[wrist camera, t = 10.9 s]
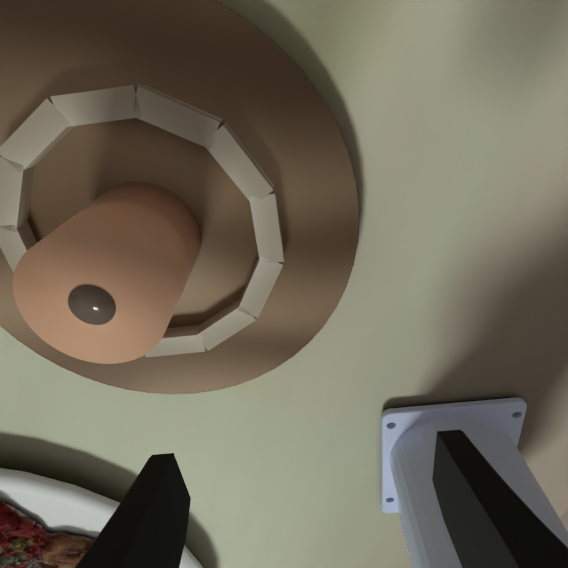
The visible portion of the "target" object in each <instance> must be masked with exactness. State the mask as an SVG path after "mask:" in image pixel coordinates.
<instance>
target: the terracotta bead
mask: <svg viewBox="0 0 568 568" xmlns="http://www.w3.org/2000/svg"><path fill="white" fill-rule="evenodd" d="M200 248H201V234H200V229H199V226H198V223H197V220H196V218H195V216H194V214H193V213H192V211H191V210H190V208H189V207H188V206H187V205H186V204H185V203H184V202H183V201H182V200H181V199H180V198H179V197H178V196H176V195H175V194H174V193H172V192H171V191H169V190H167V189H165V188H163V187H161V186H158V185H155V184H151V183H146V182H128V183H123V184H120V185H117V186H115V187H113V188H111V189H109V190H108V191H107V192H105V193H104V194H103V195H101V196H100V197H98V198H97V199H96V200H94V201H93V202H92V203H90V204H89V205H88V206H86V207H85V208H84V209H82V210H81V211H80V212H78V213H77V214H76V215H74V216H73V217H71V218H70V219H69V220H67V221H66V222H65V223H63V224H62V225H61V226H59V227H58V228H57V229H55V230H54V231H53V232H51V233H50V234H48V235H47V236H46V237H44V238H43V239H42V240H40V241H39V242H38V243H36V244H35V245H34V246H32V247H31V248H30V249H28V250H27V251H26V252H25V254H24V255H23V256H22V257H21V259H20V260H19V262H18V264H17V266H16V268H15V271H14V276H13V293H14V298H15V301H16V305H17V307H18V309H19V311H20V313H21V315H22V317H23V318H24V320H25V321H26V323H27V324H28V325H29V327H30V328H31V329H32V330H33V331H34V332H35V333H36V334H37V335H38V336H39V337H40V338H41V339H43V340H44V341H45V342H46V343H48V344H49V345H51V346H52V347H54V348H55V349H57V350H59V351H61V352H62V353H65V354H67V355H69V356H71V357H74V358H77V359H80V360H84V361H88V362H93V363H102V364H116V363H123V362H128V361H131V360H135V359H137V358H139V357H142V356H143V355H145V354H147V353H148V352H150V351H151V350H152V349H153V348H154V347H155V346H156V345H157V344H158V343H159V342H160V340H161V339H162V337H163V336H164V333H165V331H166V329H167V327H168V324H169V322H170V320H171V317H172V315H173V313H174V311H175V308H176V306H177V304H178V301H179V299H180V297H181V295H182V292H183V290H184V288H185V285H186V283H187V281H188V279H189V276H190V274H191V272H192V269H193V267H194V265H195V263H196V260H197V258H198V256H199V252H200Z"/></svg>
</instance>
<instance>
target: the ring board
mask: <svg viewBox="0 0 568 568" xmlns="http://www.w3.org/2000/svg"><path fill="white" fill-rule="evenodd" d="M128 182H146V183H151V184H155V185H158V186H161V187H163V188H165V189H167V190H169V191H171V192H172V193H174V194H175V195H176V196H178V197H179V198H180V199H181V200H182V201H183V202H184V203H185V204H186V205H187V206H188V207H189V208H190V210H191V211H192V213H193V214H194V216H195V218H196V220H197V223H198V226H199V229H200V234H201V248H200V252H199V256H198V258H197V260H196V263H195V265H194V267H193V269H192V272H191V274H190V276H189V279H188V281H187V283H186V285H185V288H184V290H183V292H182V295H181V297H180V299H179V301H178V304H177V306H176V308H175V311H174V313H173V315H172V317H171V320H170V322H169V324H168V327H167V329H166V331H165V333H164V336H163V337H162V339H161V340H160V342H159V343H158V344H157V345H156V346H155V347H154V348H153V349H152V350H151V351H150V352H148V353H147V354H145V355H143V356H142V357H139V358H137V359H135V360H131V361H128V362H123V363H116V364H102V363H93V362H88V361H84V360H80V359H77V358H74V357H71V356H69V355H67V354H65V353H62V352H61V351H59V350H57V349H55V348H54V347H52V346H51V345H49V344H48V343H46V342H45V341H44V340H43V339H41V338H40V337H39V336H38V335H37V334H36V333H35V332H34V331H33V330H32V329H31V328H30V327H29V325H28V324H27V323H26V321H25V320H24V318H23V317H22V315H21V313H20V311H19V309H18V307H17V305H16V301H15V298H14V293H13V276H14V271H15V268H16V266H17V264H18V262H19V260H20V259H21V257H22V256H23V255H24V254H25V252H26V251H27V250H28V249H30V248H31V247H32V246H34V245H35V244H36V243H38V242H39V241H40V240H42V239H43V238H44V237H46V236H47V235H48V234H50V233H51V232H53V231H54V230H55V229H57V228H58V227H59V226H61V225H62V224H63V223H65V222H66V221H67V220H69V219H70V218H71V217H73V216H74V215H76V214H77V213H78V212H80V211H81V210H82V209H84V208H85V207H86V206H88V205H89V204H90V203H92V202H93V201H94V200H96V199H97V198H98V197H100V196H101V195H103V194H104V193H105V192H107V191H108V190H109V189H111V188H113V187H115V186H117V185H120V184H123V183H128ZM358 232H359V206H358V195H357V185H356V181H355V177H354V173H353V169H352V164H351V160H350V156H349V154H348V151H347V148H346V146H345V143H344V141H343V138H342V135H341V133H340V130H339V128H338V126H337V124H336V122H335V120H334V118H333V117H332V115H331V113H330V111H329V109H328V107H327V106H326V104H325V102H324V100H323V98H322V97H321V95H320V94H319V93H318V91H317V90H316V89H315V87H314V86H313V85H312V83H311V82H310V81H309V79H308V78H307V76H306V75H305V74H304V72H303V71H302V70H301V69H300V68H299V66H298V65H297V64H296V63H295V62H294V61H293V60H292V59H291V58H290V57H289V56H288V55H287V54H286V53H285V52H284V51H283V50H282V49H281V48H280V47H279V46H278V45H277V44H276V43H275V42H274V41H273V40H271V39H270V38H269V37H268V36H266V35H265V34H264V33H263V32H261V31H260V30H259V29H258V28H256V27H255V26H254V25H253V24H251V23H250V22H249V21H248V20H246V19H245V18H243V17H241V16H239V15H238V14H236V13H234V12H233V11H231V10H229V9H228V8H226V7H224V6H223V5H221V4H219V3H218V2H216V1H214V0H0V326H1V327H2V328H4V329H5V330H6V331H7V332H8V333H10V334H11V335H12V336H13V337H15V338H16V339H17V340H18V341H20V342H21V343H23V344H24V345H26V346H27V347H29V348H30V349H32V350H33V351H34V352H36V353H37V354H39V355H41V356H42V357H44V358H46V359H48V360H50V361H51V362H53V363H55V364H57V365H59V366H60V367H63V368H65V369H67V370H69V371H72V372H74V373H76V374H78V375H81V376H83V377H86V378H89V379H92V380H95V381H98V382H101V383H103V384H107V385H111V386H115V387H119V388H123V389H127V390H134V391H140V392H147V393H160V394H190V393H200V392H207V391H214V390H219V389H223V388H227V387H231V386H235V385H238V384H241V383H243V382H246V381H249V380H252V379H254V378H257V377H259V376H261V375H263V374H265V373H267V372H269V371H271V370H273V369H275V368H276V367H278V366H279V365H281V364H282V363H284V362H285V361H287V360H288V359H290V358H291V357H293V356H294V355H295V354H296V353H297V352H299V351H300V350H301V349H302V348H303V347H304V346H305V345H307V344H308V343H309V342H310V341H311V340H312V339H313V337H314V336H315V335H316V334H317V333H318V332H319V331H320V330H321V328H322V327H323V326H324V325H325V323H326V322H327V320H328V319H329V317H330V316H331V314H332V313H333V311H334V310H335V308H336V307H337V305H338V303H339V301H340V299H341V297H342V295H343V293H344V291H345V288H346V286H347V283H348V280H349V277H350V274H351V271H352V268H353V265H354V260H355V254H356V249H357V243H358Z"/></svg>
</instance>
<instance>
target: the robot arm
mask: <svg viewBox="0 0 568 568" xmlns="http://www.w3.org/2000/svg"><path fill="white" fill-rule="evenodd" d="M526 410H527V404H526V403H525V401H524V400H523V399H522V398H506V399H494V400H482V401H471V402H459V403H448V404H436V405H425V406H413V407H402V408H390V409H386V410H384V411H383V412H382V414H381V506H382V510H383V511H384V512H386V513H399V517H400V521H401V525H402V529H403V533H404V537H405V541H406V545H407V549H408V552H409V556H410V560H411V564H412V568H568V532H567V530H566V528H565V527H564V525H563V523H562V522H561V520H560V518H559V517H558V515H557V513H556V512H555V510H554V508H553V507H552V505H551V503H550V502H549V500H548V498H547V497H546V495H545V493H544V492H543V490H542V488H541V487H540V485H539V483H538V482H537V480H536V478H535V477H534V475H533V474H532V472H531V470H530V469H529V467H528V465H527V464H526V462H525V460H524V459H523V457H522V455H521V454H520V452H519V450H518V449H517V446H518V442H519V438H520V434H521V430H522V426H523V422H524V418H525V414H526ZM391 422H392V423H391ZM389 423H390V424H389ZM190 499H191V498H190V496H189V493H188V490H187V488H186V485H185V482H184V480H183V477H182V474H181V472H180V469H179V467H178V464H177V461H176V459H175V456H174V453H171V454H159V455H152V456H151V457H150V458H149V459H148V461H147V463H146V464H145V466H144V467H143V469H142V470H141V472H140V474H139V475H138V477H137V478H136V480H135V481H134V483H133V484H132V486H131V488H130V489H129V491H128V492H127V494H126V495H125V497H124V498H123V500H122V501H121V503H120V504H119V506H118V507H117V509H116V510H115V512H114V513H113V515H112V516H111V518H110V519H109V520H108V522H107V523H106V525H105V526H104V528H103V529H102V531H101V532H100V534H99V535H98V536H97V538H96V539H95V541H94V542H93V543H92V545H91V546H90V548H89V549H88V550H87V552H86V553H85V554H84V556H83V557H82V558H81V560H80V561H79V562H78V564H77V565H76V566H75V568H179V566H180V562H181V557H182V553H183V549H184V544H185V539H186V532H187V525H188V517H189V508H190Z"/></svg>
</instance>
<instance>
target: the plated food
mask: <svg viewBox="0 0 568 568" xmlns="http://www.w3.org/2000/svg"><path fill="white" fill-rule="evenodd" d="M119 504H120V503H119V502H117V501H114V500H112V499H109V498H107V497H104V496H102V495H99V494H97V493H94V492H92V491H89V490H87V489H84V488H81V487H79V486H76V485H73V484H69V483H66V482H62V481H58V480H54V479H51V478H47V477H43V476H39V475H36V474H32V473H28V472H24V471H17V470H10V469H4V468H0V568H75V566H76V565H77V564H78V562H79V561H80V560H81V558H82V557H83V556H84V554H85V553H86V552H87V550H88V549H89V548H90V546H91V545H92V543H93V542H94V541H95V539H96V538H97V536H98V535H99V534H100V532H101V531H102V529H103V528H104V526H105V525H106V523H107V522H108V520H109V519H110V518H111V516H112V515H113V513H114V512H115V510H116V509H117V507H118V506H119ZM179 568H203V567H202V565H201V564H200V563H199V562H198V560H197V559H196V558H195V557H194V556H193V555H192V553H191V552H190V551H189V550H188V549H187V548H186V546H185V545H184V549H183V553H182V557H181V562H180V566H179Z"/></svg>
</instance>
